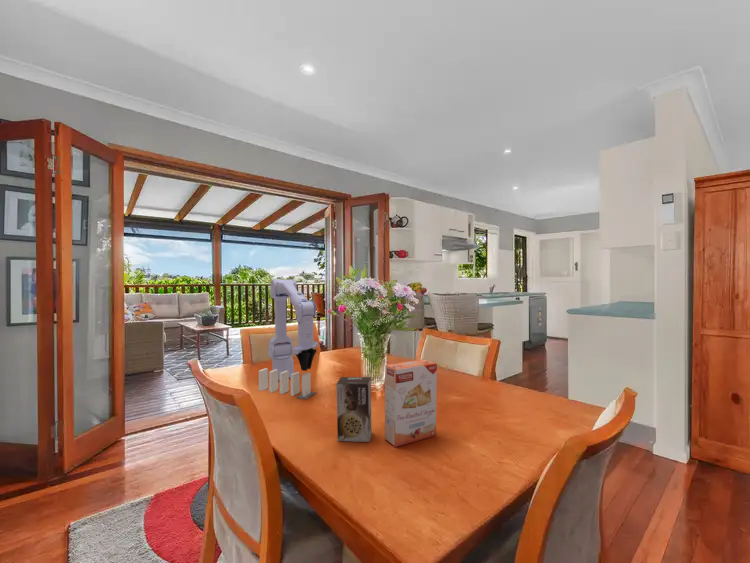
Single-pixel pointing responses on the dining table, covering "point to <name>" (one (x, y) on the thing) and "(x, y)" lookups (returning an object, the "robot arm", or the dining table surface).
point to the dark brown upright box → (354, 409)
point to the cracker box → (410, 401)
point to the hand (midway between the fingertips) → (306, 369)
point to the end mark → (306, 396)
